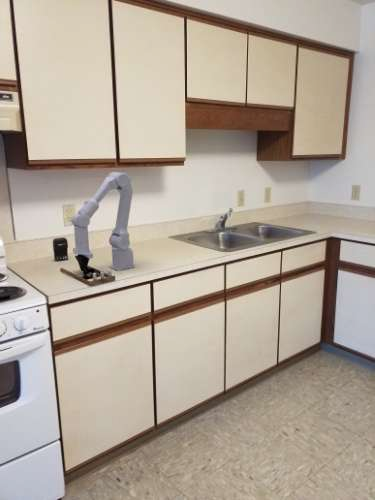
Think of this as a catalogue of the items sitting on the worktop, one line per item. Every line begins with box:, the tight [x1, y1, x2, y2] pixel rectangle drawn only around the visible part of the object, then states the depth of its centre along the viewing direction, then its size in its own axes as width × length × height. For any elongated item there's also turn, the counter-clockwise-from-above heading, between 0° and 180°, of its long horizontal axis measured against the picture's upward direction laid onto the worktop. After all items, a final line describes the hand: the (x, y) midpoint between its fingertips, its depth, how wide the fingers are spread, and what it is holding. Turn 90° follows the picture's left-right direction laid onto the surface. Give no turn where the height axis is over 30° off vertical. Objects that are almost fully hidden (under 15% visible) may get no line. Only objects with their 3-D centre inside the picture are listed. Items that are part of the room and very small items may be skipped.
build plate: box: [81, 266, 101, 281], centre depth 171 cm, size 12×7×5 cm, turn 134°
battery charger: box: [52, 236, 69, 262], centre depth 197 cm, size 7×4×11 cm, turn 123°
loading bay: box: [59, 265, 116, 287], centre depth 173 cm, size 12×29×5 cm, turn 42°
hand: (83, 270), depth 175 cm, fingers closed
